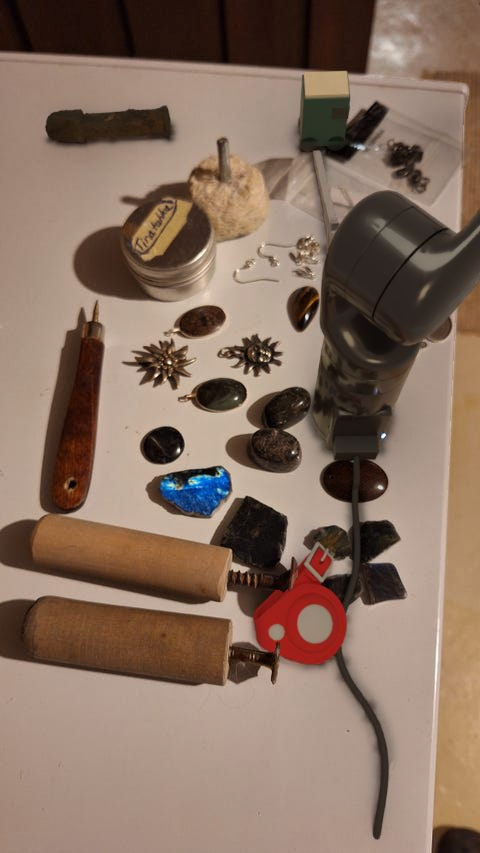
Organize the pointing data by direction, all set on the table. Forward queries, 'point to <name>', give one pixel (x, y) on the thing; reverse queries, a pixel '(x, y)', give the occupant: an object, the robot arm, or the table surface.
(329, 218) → the caliper
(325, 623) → the tracker holder
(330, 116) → the camper van
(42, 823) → the table surface
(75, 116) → the hand tool
